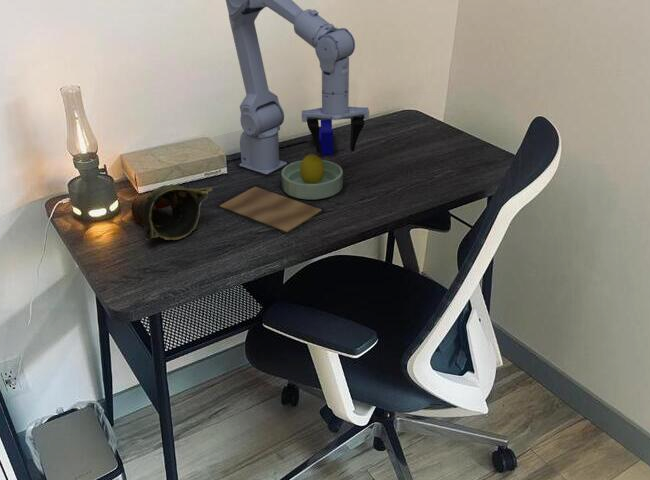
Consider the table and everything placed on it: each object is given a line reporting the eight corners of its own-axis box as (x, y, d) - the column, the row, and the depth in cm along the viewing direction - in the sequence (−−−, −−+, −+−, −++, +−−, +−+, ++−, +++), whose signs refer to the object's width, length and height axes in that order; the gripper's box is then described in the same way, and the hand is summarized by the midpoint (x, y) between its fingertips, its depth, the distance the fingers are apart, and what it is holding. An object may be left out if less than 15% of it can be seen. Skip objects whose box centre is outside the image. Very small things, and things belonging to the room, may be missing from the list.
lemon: (321, 191, 155) (321, 159, 150) (298, 190, 156) (297, 158, 151) (325, 181, 159) (325, 149, 155) (303, 180, 160) (302, 148, 156)
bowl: (269, 190, 157) (269, 174, 155) (307, 169, 166) (307, 154, 164) (317, 206, 149) (317, 190, 147) (354, 184, 158) (354, 168, 156)
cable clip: (315, 137, 183) (315, 116, 180) (331, 137, 183) (331, 115, 180) (315, 154, 173) (315, 132, 170) (333, 154, 173) (333, 132, 170)
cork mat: (219, 206, 151) (219, 205, 151) (255, 187, 158) (255, 186, 158) (287, 232, 140) (287, 231, 140) (322, 210, 148) (322, 209, 147)
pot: (160, 163, 149) (199, 163, 135) (188, 204, 155) (228, 207, 141) (101, 211, 143) (136, 216, 129) (133, 251, 148) (169, 260, 134)
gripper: (302, 98, 139) (303, 159, 146) (371, 94, 139) (369, 155, 146) (300, 87, 144) (302, 146, 152) (367, 84, 145) (365, 143, 152)
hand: (335, 150), depth 150 cm, fingers open, 7 cm apart
